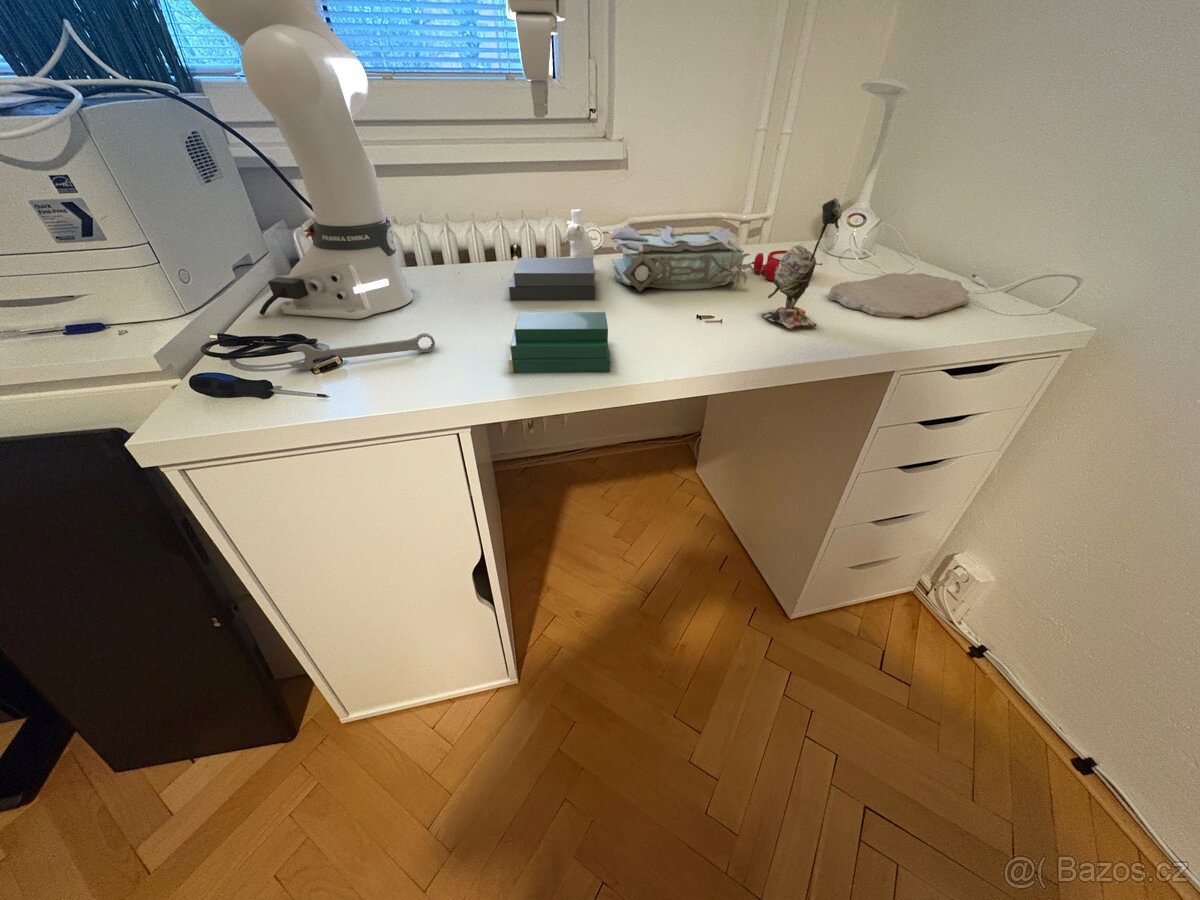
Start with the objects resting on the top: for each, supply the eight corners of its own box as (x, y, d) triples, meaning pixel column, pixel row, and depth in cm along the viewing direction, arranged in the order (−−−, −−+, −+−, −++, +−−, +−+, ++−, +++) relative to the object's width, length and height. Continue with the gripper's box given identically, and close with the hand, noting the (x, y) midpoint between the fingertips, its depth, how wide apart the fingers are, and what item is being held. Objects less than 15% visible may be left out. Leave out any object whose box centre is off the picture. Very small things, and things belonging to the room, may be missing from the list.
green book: (515, 342, 68) (514, 329, 67) (519, 325, 73) (518, 312, 72) (607, 342, 68) (608, 328, 67) (605, 324, 73) (605, 311, 72)
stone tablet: (818, 296, 97) (821, 284, 95) (918, 278, 107) (922, 267, 106) (888, 327, 85) (893, 314, 84) (992, 303, 95) (999, 291, 94)
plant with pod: (793, 307, 92) (824, 190, 80) (821, 331, 83) (860, 202, 71) (752, 308, 91) (777, 190, 79) (775, 332, 82) (807, 202, 70)
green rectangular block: (510, 372, 69) (507, 347, 67) (515, 346, 76) (513, 321, 74) (609, 371, 70) (610, 346, 67) (606, 345, 77) (606, 321, 74)
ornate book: (619, 300, 96) (763, 290, 99) (619, 250, 90) (772, 240, 93) (603, 267, 114) (725, 259, 117) (602, 223, 108) (731, 216, 111)
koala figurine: (561, 263, 113) (559, 207, 105) (589, 262, 114) (590, 206, 106) (566, 274, 106) (564, 215, 99) (596, 273, 107) (596, 214, 100)
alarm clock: (829, 262, 103) (772, 249, 98) (815, 291, 107) (759, 280, 102) (801, 250, 111) (747, 237, 106) (789, 277, 115) (736, 266, 110)
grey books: (510, 299, 93) (507, 273, 90) (515, 281, 102) (513, 257, 99) (595, 299, 94) (595, 273, 91) (593, 281, 102) (593, 257, 99)
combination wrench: (432, 328, 73) (282, 344, 67) (433, 331, 72) (281, 347, 66) (436, 351, 75) (291, 368, 69) (437, 354, 74) (290, 372, 68)
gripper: (520, 12, 80) (527, 113, 88) (507, -8, 64) (517, 118, 72) (558, 13, 80) (561, 114, 89) (555, -7, 64) (559, 119, 72)
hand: (541, 116), depth 80 cm, fingers open, 8 cm apart
